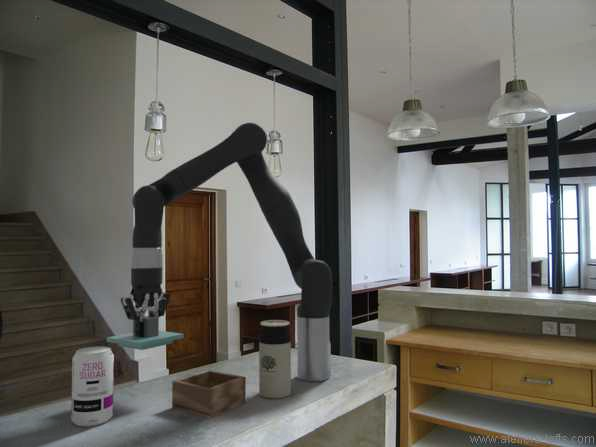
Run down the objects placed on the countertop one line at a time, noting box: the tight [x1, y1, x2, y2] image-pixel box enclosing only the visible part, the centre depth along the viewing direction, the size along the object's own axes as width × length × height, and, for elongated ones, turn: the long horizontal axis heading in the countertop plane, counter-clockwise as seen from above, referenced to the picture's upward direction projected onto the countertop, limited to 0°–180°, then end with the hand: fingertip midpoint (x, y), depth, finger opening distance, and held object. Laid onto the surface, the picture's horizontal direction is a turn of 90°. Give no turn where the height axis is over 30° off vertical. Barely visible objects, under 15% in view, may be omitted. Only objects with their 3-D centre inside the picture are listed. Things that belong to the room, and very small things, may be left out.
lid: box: [106, 315, 185, 351], centre depth 117 cm, size 13×13×7 cm
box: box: [171, 369, 247, 419], centre depth 111 cm, size 12×12×6 cm
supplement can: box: [70, 346, 115, 427], centre depth 101 cm, size 8×8×15 cm
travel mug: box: [258, 319, 292, 400], centre depth 119 cm, size 8×8×18 cm
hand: (146, 335), depth 117 cm, fingers closed on lid, 3 cm apart
